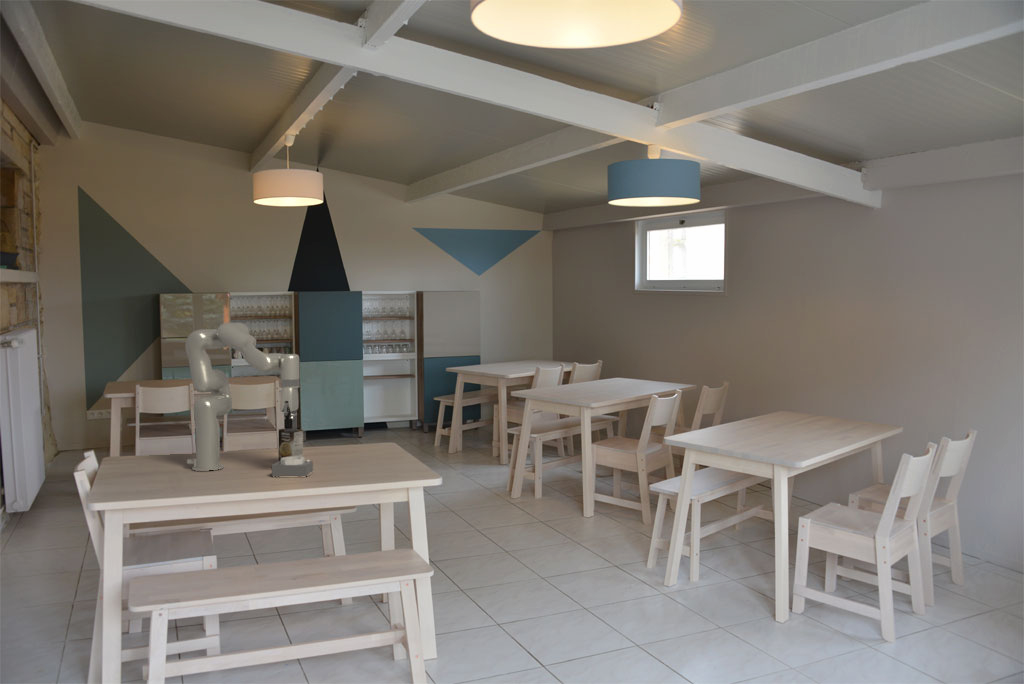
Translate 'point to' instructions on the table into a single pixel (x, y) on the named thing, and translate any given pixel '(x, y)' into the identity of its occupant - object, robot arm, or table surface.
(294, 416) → the lens
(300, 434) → the coffee box
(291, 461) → the camera body
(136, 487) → the table surface
